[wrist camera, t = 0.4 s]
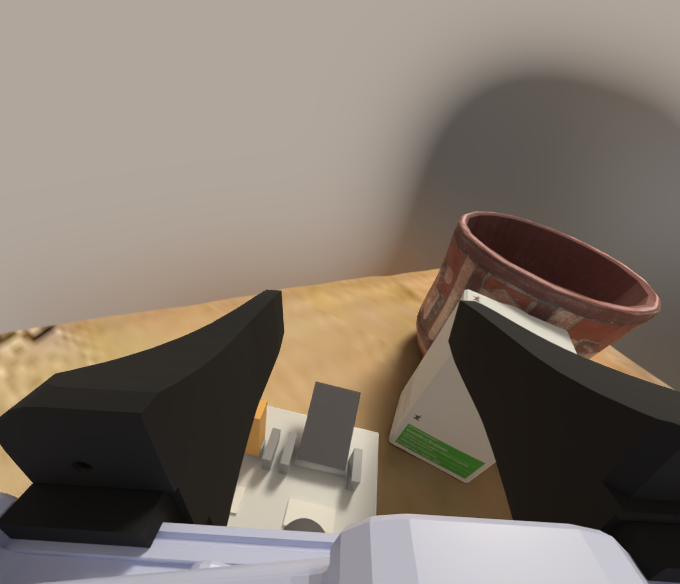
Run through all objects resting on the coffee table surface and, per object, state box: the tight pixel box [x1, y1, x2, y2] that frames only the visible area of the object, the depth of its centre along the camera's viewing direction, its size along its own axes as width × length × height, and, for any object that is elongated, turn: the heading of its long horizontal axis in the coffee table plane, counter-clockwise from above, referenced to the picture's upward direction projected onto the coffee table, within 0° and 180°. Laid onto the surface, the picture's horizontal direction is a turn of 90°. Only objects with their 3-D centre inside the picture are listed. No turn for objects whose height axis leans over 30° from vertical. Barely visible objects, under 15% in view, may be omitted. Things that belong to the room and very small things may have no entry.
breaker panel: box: [227, 406, 379, 534], centre depth 19 cm, size 14×24×7 cm, turn 82°
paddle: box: [294, 382, 361, 477], centre depth 23 cm, size 1×4×7 cm
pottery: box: [416, 212, 661, 359], centre depth 32 cm, size 18×18×18 cm
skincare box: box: [389, 289, 577, 483], centre depth 24 cm, size 8×7×16 cm
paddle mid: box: [245, 399, 267, 457], centre depth 21 cm, size 1×4×7 cm, turn 82°
